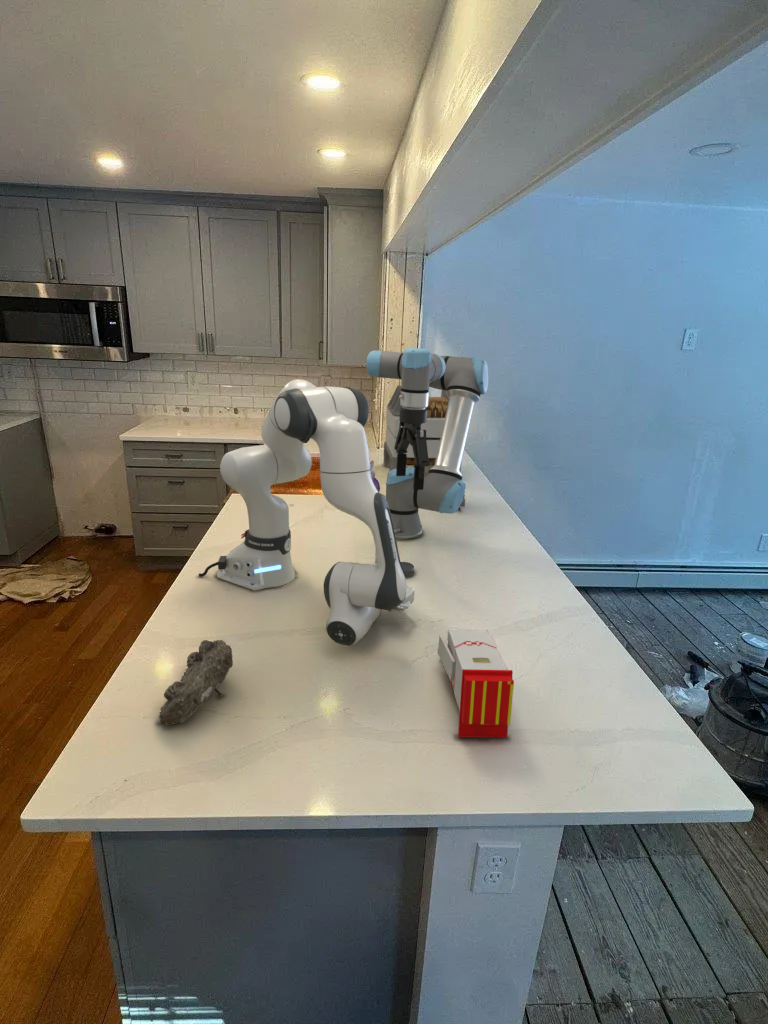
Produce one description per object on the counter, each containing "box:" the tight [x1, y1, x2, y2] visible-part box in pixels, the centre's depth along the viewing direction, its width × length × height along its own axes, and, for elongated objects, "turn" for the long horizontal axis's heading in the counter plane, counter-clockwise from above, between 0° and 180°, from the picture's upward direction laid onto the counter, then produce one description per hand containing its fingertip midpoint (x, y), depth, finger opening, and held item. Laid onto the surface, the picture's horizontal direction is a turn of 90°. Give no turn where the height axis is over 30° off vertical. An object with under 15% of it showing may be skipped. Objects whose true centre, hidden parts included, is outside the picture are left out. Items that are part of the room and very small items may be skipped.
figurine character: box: [458, 493, 466, 511], centre depth 229 cm, size 7×8×15 cm
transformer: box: [383, 384, 463, 474], centre depth 268 cm, size 34×33×41 cm
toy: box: [437, 628, 515, 738], centre depth 117 cm, size 12×13×30 cm
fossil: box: [158, 639, 234, 726], centre depth 113 cm, size 22×10×15 cm
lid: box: [400, 561, 415, 578], centre depth 170 cm, size 6×6×2 cm
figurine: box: [370, 460, 381, 493], centre depth 236 cm, size 9×10×15 cm
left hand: (383, 578), depth 151 cm, fingers open, 8 cm apart
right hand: (409, 482), depth 161 cm, fingers open, 13 cm apart
